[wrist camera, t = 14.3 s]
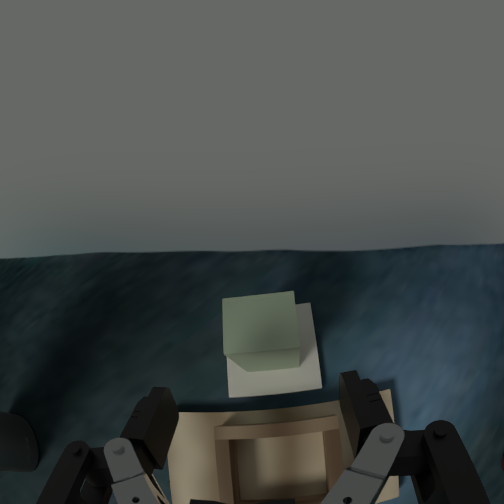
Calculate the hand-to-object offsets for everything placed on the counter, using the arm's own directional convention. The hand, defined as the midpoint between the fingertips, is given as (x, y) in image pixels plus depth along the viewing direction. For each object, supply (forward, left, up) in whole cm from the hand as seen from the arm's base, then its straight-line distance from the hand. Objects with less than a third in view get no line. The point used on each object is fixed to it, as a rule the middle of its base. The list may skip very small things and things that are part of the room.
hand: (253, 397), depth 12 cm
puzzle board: (0, -7, -16) cm, 17 cm away
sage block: (0, +5, -15) cm, 16 cm away
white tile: (0, +5, -16) cm, 17 cm away
